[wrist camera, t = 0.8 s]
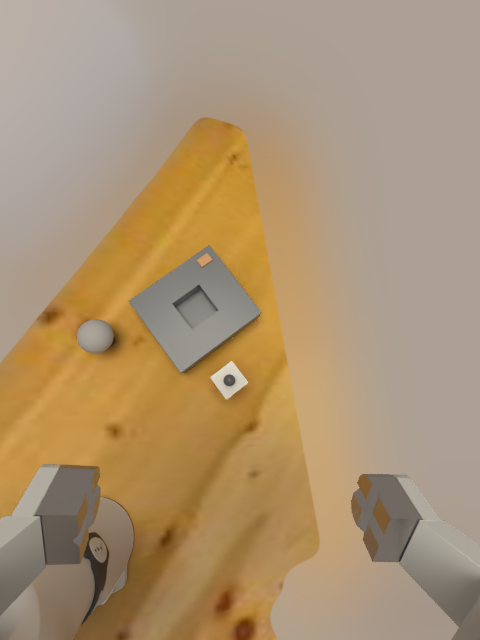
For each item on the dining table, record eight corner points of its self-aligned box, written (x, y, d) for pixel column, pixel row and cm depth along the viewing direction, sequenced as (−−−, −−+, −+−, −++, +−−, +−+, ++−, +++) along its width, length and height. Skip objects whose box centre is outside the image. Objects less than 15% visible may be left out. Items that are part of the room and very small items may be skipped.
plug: (225, 394, 64) (226, 400, 51) (212, 376, 65) (209, 377, 51) (243, 380, 65) (249, 383, 51) (230, 362, 65) (232, 360, 52)
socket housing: (184, 372, 65) (180, 372, 58) (137, 308, 66) (127, 300, 59) (257, 318, 67) (261, 311, 60) (210, 257, 69) (209, 243, 62)
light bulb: (125, 325, 66) (108, 316, 56) (123, 355, 65) (105, 352, 55) (94, 325, 65) (71, 316, 55) (92, 355, 64) (69, 352, 54)
